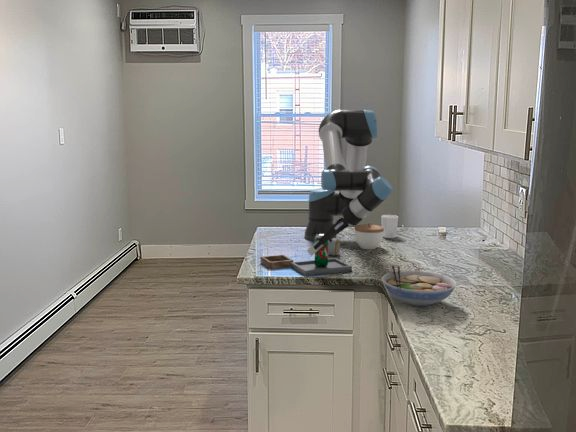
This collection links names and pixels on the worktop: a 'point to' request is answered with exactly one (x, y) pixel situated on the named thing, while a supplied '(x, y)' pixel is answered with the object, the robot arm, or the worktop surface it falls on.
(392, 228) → the white cup
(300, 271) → the grey tray
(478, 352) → the worktop surface
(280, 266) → the walnut collar
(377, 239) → the lidded bowl
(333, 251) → the ceramic mug
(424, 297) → the ramen bowl
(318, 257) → the soda can
